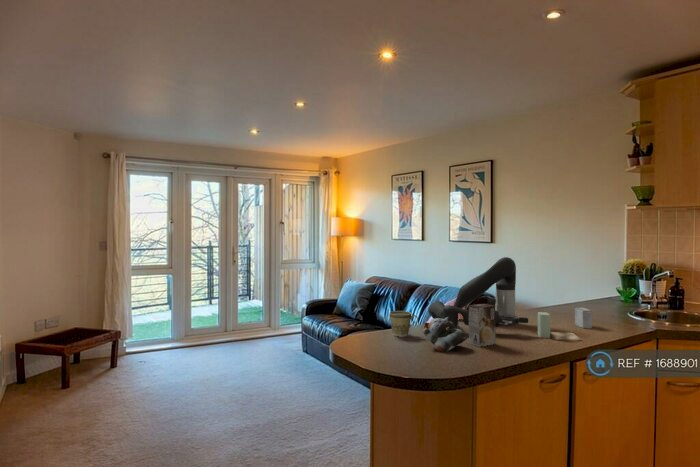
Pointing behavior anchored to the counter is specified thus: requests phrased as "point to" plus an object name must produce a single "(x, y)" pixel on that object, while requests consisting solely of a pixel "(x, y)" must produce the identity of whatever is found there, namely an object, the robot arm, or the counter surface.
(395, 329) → the ceramic cup
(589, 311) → the medicine box
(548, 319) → the sage block
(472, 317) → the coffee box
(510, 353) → the counter surface
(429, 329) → the grey stuffed animal
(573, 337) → the beech board
